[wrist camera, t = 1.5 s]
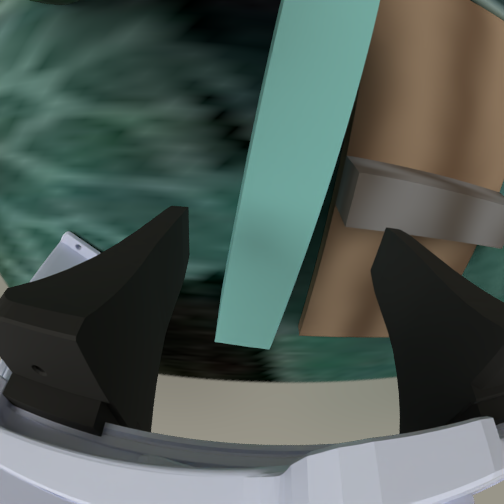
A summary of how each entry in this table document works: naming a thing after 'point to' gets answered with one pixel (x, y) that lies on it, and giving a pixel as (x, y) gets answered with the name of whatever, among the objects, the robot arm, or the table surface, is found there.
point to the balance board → (414, 156)
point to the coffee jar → (56, 1)
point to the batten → (291, 158)
